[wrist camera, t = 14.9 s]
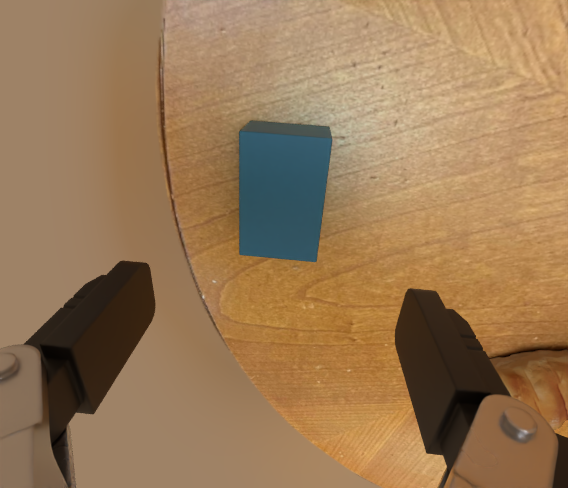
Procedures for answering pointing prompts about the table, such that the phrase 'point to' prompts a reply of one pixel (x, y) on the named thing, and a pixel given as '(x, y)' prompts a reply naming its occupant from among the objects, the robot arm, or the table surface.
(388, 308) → the table surface
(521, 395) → the pastry
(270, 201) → the blue rectangular block
